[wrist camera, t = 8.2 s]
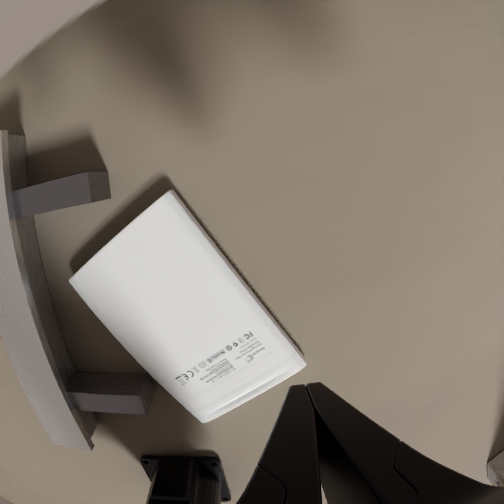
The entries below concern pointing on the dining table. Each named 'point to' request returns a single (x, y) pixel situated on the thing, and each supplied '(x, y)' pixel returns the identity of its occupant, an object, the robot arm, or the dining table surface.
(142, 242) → the external hard drive
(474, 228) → the dining table surface
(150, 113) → the dining table surface
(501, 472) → the coffee box
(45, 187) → the grey door handle
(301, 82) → the dining table surface
